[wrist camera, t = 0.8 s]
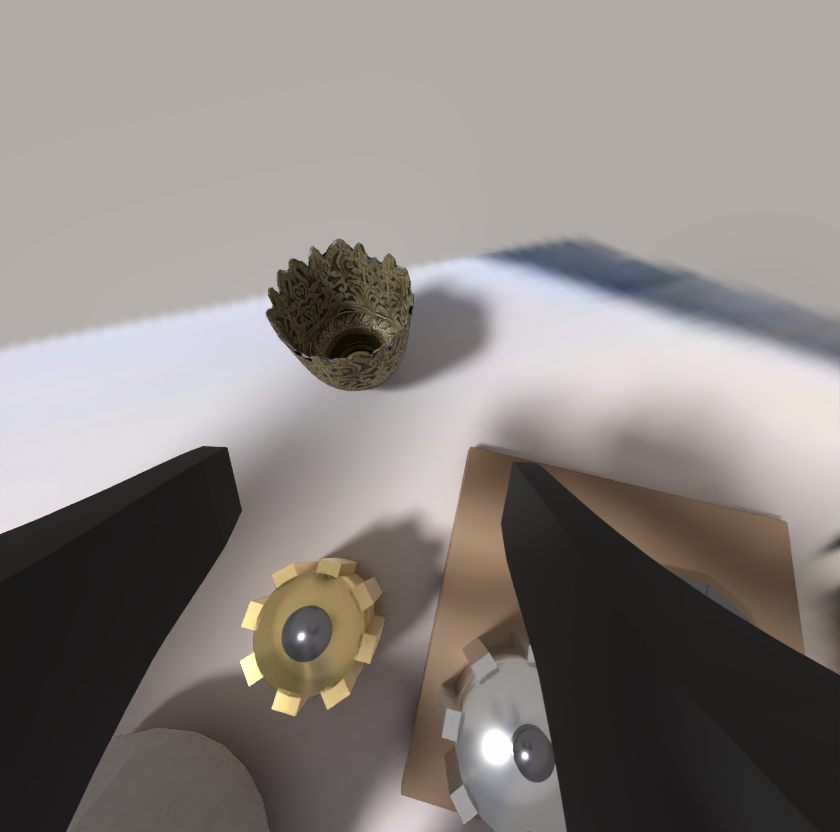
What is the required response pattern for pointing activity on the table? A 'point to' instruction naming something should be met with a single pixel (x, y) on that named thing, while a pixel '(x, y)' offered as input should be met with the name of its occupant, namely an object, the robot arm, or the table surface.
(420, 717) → the carrier plate
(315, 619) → the planet gear
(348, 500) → the table surface
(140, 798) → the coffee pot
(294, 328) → the cup
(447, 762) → the sun gear
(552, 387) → the table surface
